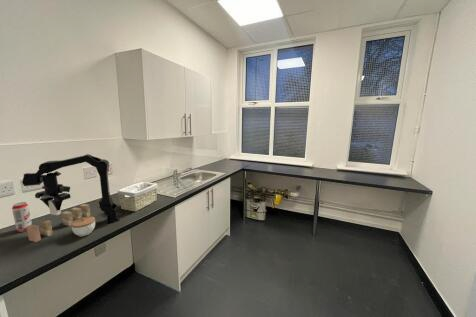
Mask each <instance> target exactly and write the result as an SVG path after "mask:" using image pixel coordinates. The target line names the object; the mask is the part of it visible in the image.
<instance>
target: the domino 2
mask: <svg viewBox="0 0 476 317" xmlns="http://www.w3.org/2000/svg"><path fill="white" fill-rule="evenodd" d="M53 200H54V199H53ZM53 200H50V201H48V203H49V207H48V208H49V213H50V214H49V215H53V216H59V215H62V211H61V208H60V210H58V211H57V209H56V208H55V206H54V205H53V203H52V201H53Z"/></svg>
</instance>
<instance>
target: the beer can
mask: <svg viewBox="0 0 476 317" xmlns="http://www.w3.org/2000/svg"><path fill="white" fill-rule="evenodd" d="M11 211H12V215H13V218H14V220H13V221H14V224H15V229H16V232H19V233H25V232H27V226H29V225H33V223H32V222H33V221H32V217H31V213H30V208H29V204H28V203H27V202H26V201H22V202H16V203H13V205H12V207H11Z"/></svg>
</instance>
